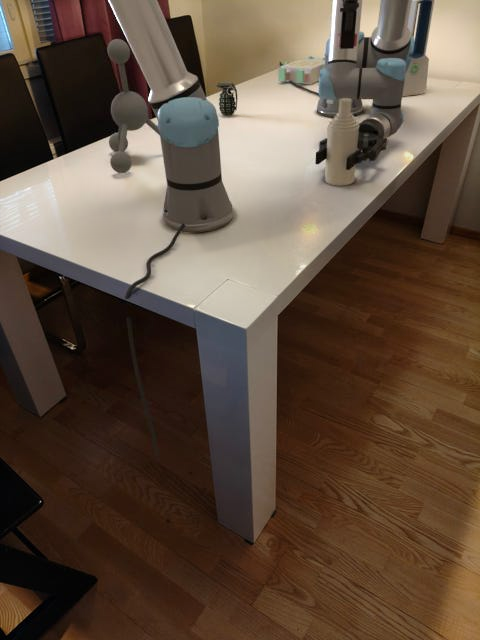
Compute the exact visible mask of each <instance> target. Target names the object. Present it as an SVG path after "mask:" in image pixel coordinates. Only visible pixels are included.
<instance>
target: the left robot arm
mask: <svg viewBox="0 0 480 640" xmlns="http://www.w3.org/2000/svg"><path fill="white" fill-rule="evenodd" d="M107 1H108V3H109V5H110V7H111V10H112V11H113V14H114V15H115V17H116V20H117V22H118V24H119V26H120V28H121V30H122V32H123V34H124V36H125V38H126V40H127V44H128V46H129V48H130V50H131V51H132V54H133V55H134V58H135V59H136V62H137V64H138V66H139V68H140V70H141V72H142V75H143V76H144V78H145V80H146V82H147V84H148V86H149V87H148V88H150V92H149V94H148V95H149V96H148V103H149V105H150V107H151V109H152V111H153V113H154V115H155V118H156V119H157V120H156V121H157V123H156V125H157V126H158V131H159V133H160V135H159V139H160V145H161V153H162V159H163V165H164V166H163V168H164V173H165V180H166V190H165V191H166V192H165V196H164V203H163V207H162V218H163V222H164V224H165V226H167V227H168V228H169V229H171V230H173V231H176V233H175V234H174V235H173V237H172V239H171V241H170V243H169V244H168V245H167V247H165V248H164V249H162V250H160V251H159V252H156V253H154V254H153V255H151V256H150V257H149V258H148V259H147V261H146V265H145V266H146V273H145V275H144V276H143V277H142V278H140V279H138V280H135V281H134V282H133V283H131V285H130V286H129V287H128V289H127V291H126V293H125V296H124V297H125V298H124V299H125V300H128V299H130V297H131V295H132V292H133V291H134V289H135V288H136V287H137V286H139V285H141V284H143V283H145V282H146V281H147V280H149V279H150V277H151V275H152V267H151V263H152V262H153V261H154V260H155V259H156V258H159V257H160V256H161V257H162V255H164V254H166V253H167V252H169V251H170V250H171V249H172V247H174V245H175V243H176V241H177V239H178V237H180V235H181V233H190V234H191V233H192V234H193V233H194V234H195V233H196V234H197V233H205V232H206V233H207V232H210V231H215V230H216V229H220V228H222V227H224V226H226V225H227V224H228V223H230V221H231V220H232V218H233V216H234V212H233V211H234V210H233V204H232V201H231V200H230V197H229V195H228V192H227V190H226V187H225V184H224V182H223V175H222V174H223V173H222V164H221V163H222V161H221V147H220V134H219V127H220V119H219V116H218V114H217V109H216V106H215V105H214V104H213V103H212V102H211V101H209V100H208V98H207V97H206V94H205V92H204V90H203V87H202V85H201V82H200V80H199V78H198V76H197V75H196V74H193V73H192V72H189V71H188V70H187V67H186V65H185V63H184V60H183V58H182V56H181V53H180V51H179V49H178V47H177V44H176V42H175V39H174V37H173V35H172V32H171V29H170V28H169V24H168V23H167V20H166V18H165V15H164V14H163V11H162V8H161V6H160V3H159V2H158V0H107ZM357 8H359V3H358V0H343V8H340V12H342V22H341V44H340V49H354V38H355V26H356V15H357V11H356V10H357ZM125 318H126V327H127V335H128V341H129V347H130V353H131V359H132V365H133V367H134V368H133V369H134V374H135V377H136V382H137V386H138V390H139V393H140V399H141V400H142V401H141V402H142V405H143V409H144V413H145V418H146V420H147V424H148V427H149V432H150V436H151V439H152V444H153V447H154V452H155V456H156V457H157V458H158V457H160V455H161V454H160V451H159V447H158V442H157V437H156V434H155V430H154V426H153V422H152V418H151V415H150V410H149V406H148V403H147V400H146V396H145V391H144V387H143V383H142V378H141V375H140V370H139V369H140V368H139V365H138V361H137V354H136V349H135V343H134V342H135V341H134V335H133V327H132V318H130V317H129V316H128V317H127V316H126V317H125Z"/></svg>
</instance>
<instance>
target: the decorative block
mask: <svg viewBox="0 0 480 640" xmlns="http://www.w3.org/2000/svg"><path fill="white" fill-rule="evenodd" d="M282 65H283V66H281V65H280V67H279V68H278V69H277V70H278V71H277V73H278V74H277V76H278V77H277V79H278V82H285V83H286V82H287V83H290V82H289V81H290V80H291V81H292V82H294V83H296V84H304V85H312V84H315V83H317V82H319V75H320V70H321V69H323V68H325V57H313V56H312V55H311V56H308V57H306V58H303V59H302V58H299V59H297V60H295V61H292V62H289V61H285V62H284V63H283V64H282Z"/></svg>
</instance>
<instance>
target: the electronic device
mask: <svg viewBox="0 0 480 640" xmlns="http://www.w3.org/2000/svg"><path fill="white" fill-rule="evenodd" d="M434 5H435V0H412V4H411V9H410V15H409V20H408V26H407V27H408V29H409V30H410V33H411V36H413V37H414V50H413V54H412V59H411V63H410V66H409V68H408V71H407V73H406V74H405V82H404V89H403V95H402V97H408V96H416V95H423V94H424V93H425V92H426V90H427V86H428V85H427V84H428V75H429V74H428V72H429V62H430V59H429V58H428V56H427V49H428V48H427V46H428V43H429V36H430V29H431V24H432V16H433V12H434ZM415 29H416V30H415Z"/></svg>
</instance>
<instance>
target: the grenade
mask: <svg viewBox="0 0 480 640" xmlns="http://www.w3.org/2000/svg"><path fill="white" fill-rule="evenodd" d="M215 87H217V88H219V89H221V93H219V97H218V101H219V102H218V106H219V108H218V109H219V112H220V114H221V115H222V116H224V117H231V116H233V115H234V113H235V112H236V111H237V108H238V89H237V87H236V85H235V84H234V83H233V82H218V83H217V84H216V86H215ZM232 91H233V92H232ZM234 94H235V96H234Z"/></svg>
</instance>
